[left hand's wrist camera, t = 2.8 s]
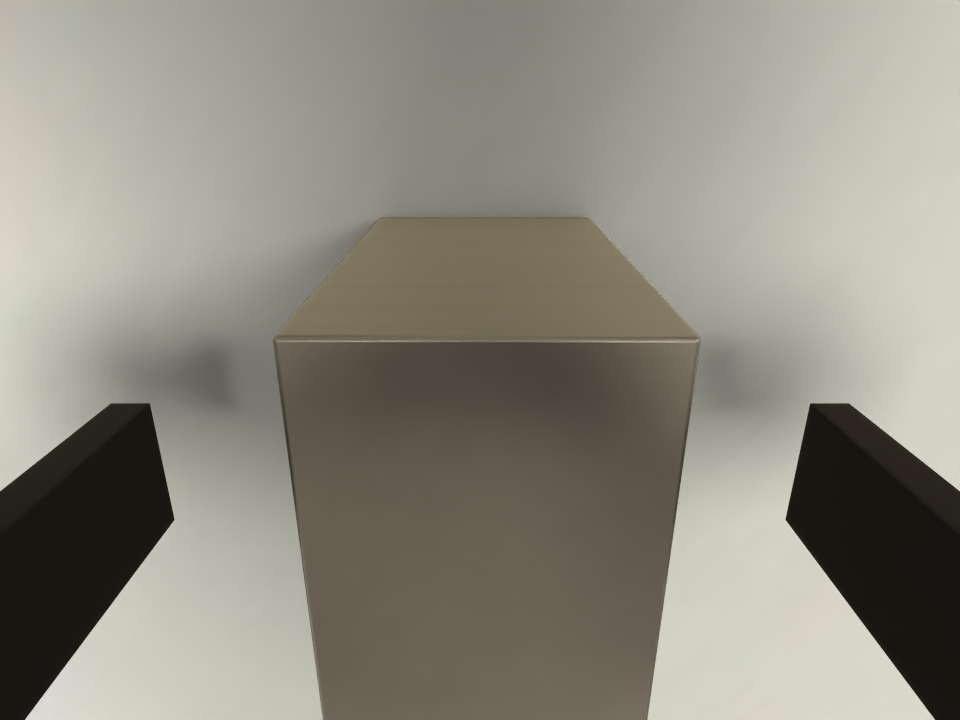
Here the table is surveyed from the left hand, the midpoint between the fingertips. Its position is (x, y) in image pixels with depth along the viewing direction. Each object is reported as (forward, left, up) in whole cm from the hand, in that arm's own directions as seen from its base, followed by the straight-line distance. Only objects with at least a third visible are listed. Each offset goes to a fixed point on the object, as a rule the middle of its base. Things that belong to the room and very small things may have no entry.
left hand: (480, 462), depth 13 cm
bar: (+8, 0, -4) cm, 9 cm away
